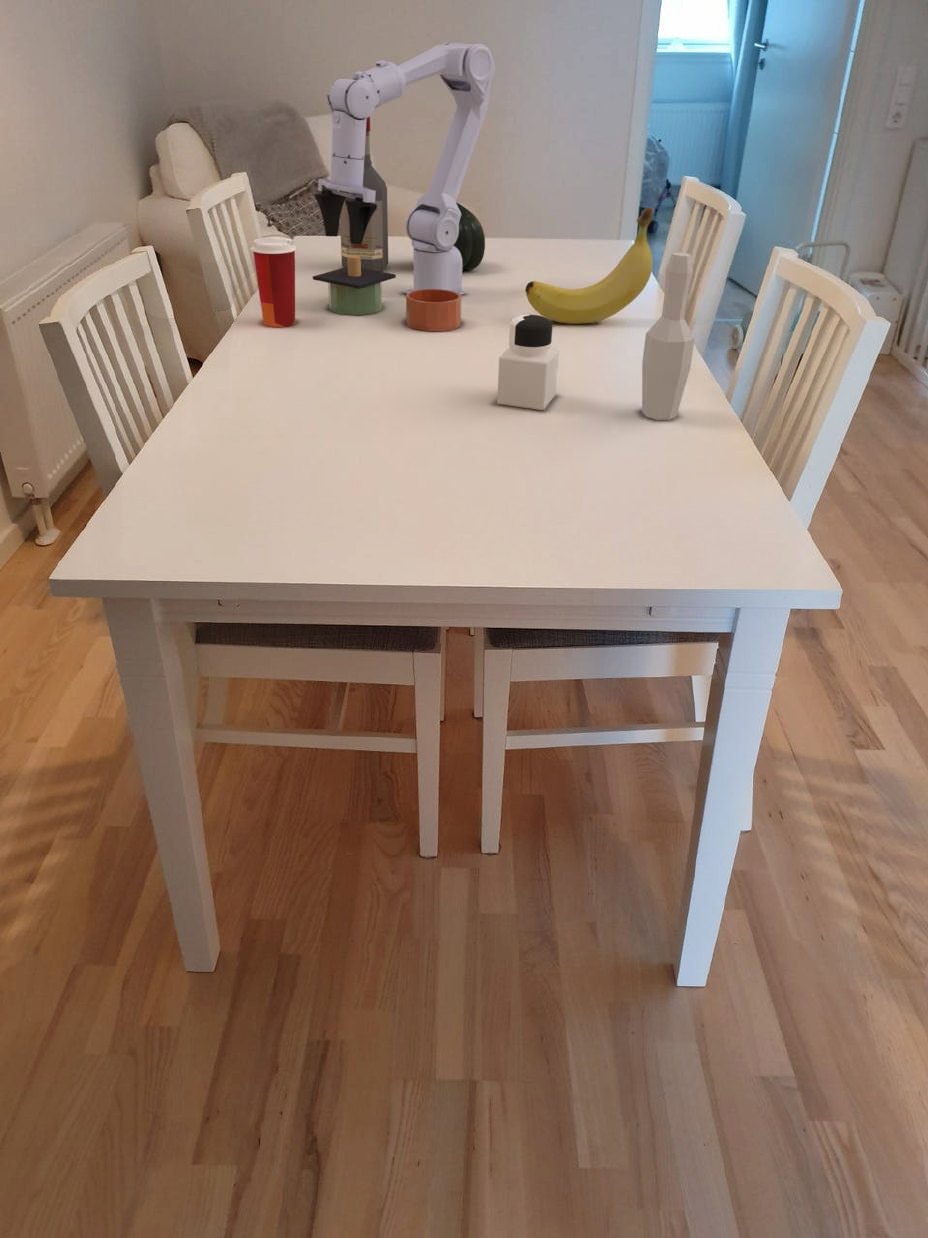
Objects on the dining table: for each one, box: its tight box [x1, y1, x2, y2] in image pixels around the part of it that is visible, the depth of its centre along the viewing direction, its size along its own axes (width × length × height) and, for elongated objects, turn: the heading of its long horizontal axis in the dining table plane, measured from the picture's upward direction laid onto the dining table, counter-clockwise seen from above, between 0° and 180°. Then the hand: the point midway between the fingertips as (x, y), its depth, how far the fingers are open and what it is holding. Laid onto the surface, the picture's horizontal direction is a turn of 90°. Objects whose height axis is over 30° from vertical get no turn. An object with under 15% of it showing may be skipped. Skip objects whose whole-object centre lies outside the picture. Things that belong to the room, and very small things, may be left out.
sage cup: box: [327, 282, 383, 316], centre depth 181 cm, size 10×10×5 cm
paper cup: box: [249, 236, 297, 328], centre depth 169 cm, size 8×8×14 cm
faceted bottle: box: [641, 251, 696, 421], centre depth 132 cm, size 6×6×22 cm
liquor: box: [338, 115, 389, 272], centre depth 201 cm, size 9×9×30 cm
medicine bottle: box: [496, 314, 560, 411], centre depth 138 cm, size 7×7×12 cm
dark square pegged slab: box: [312, 255, 397, 289], centre depth 178 cm, size 11×11×4 cm
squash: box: [453, 201, 486, 272], centre depth 208 cm, size 14×15×15 cm
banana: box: [525, 207, 655, 325], centre depth 172 cm, size 23×6×20 cm, turn 94°
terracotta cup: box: [405, 289, 462, 332], centre depth 173 cm, size 10×10×5 cm
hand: (343, 239), depth 174 cm, fingers open, 7 cm apart
